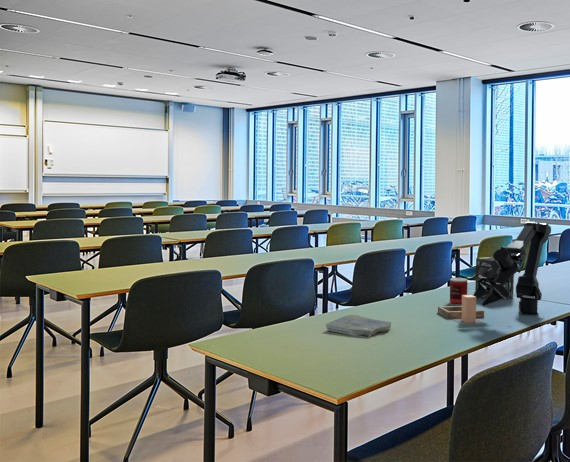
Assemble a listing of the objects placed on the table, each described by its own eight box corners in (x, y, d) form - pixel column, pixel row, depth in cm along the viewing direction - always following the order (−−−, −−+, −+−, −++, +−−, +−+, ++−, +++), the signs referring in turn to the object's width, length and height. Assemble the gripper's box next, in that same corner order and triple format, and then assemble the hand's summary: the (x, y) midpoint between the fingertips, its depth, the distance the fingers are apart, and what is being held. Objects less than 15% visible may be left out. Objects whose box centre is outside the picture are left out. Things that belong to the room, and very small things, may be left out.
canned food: (465, 301, 277) (465, 277, 276) (468, 305, 269) (469, 280, 268) (448, 301, 278) (448, 277, 277) (451, 304, 270) (451, 280, 269)
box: (491, 300, 278) (492, 260, 277) (474, 296, 289) (475, 257, 287) (514, 297, 284) (515, 258, 282) (496, 293, 295) (497, 255, 293)
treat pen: (464, 306, 265) (464, 300, 265) (488, 318, 244) (488, 310, 243) (427, 308, 263) (427, 301, 263) (448, 319, 241) (448, 312, 241)
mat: (474, 319, 242) (474, 317, 242) (486, 325, 232) (486, 323, 232) (451, 320, 240) (451, 318, 240) (462, 326, 230) (462, 324, 230)
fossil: (373, 342, 213) (394, 329, 227) (373, 330, 213) (394, 317, 226) (326, 336, 225) (348, 324, 239) (325, 324, 224) (348, 312, 238)
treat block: (471, 319, 238) (471, 295, 237) (475, 322, 234) (476, 296, 233) (461, 320, 238) (462, 295, 237) (465, 322, 234) (466, 297, 233)
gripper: (480, 256, 244) (454, 284, 244) (502, 263, 226) (474, 293, 226) (498, 275, 246) (472, 302, 246) (521, 283, 228) (493, 313, 227)
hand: (477, 302), depth 236 cm, fingers open, 9 cm apart
